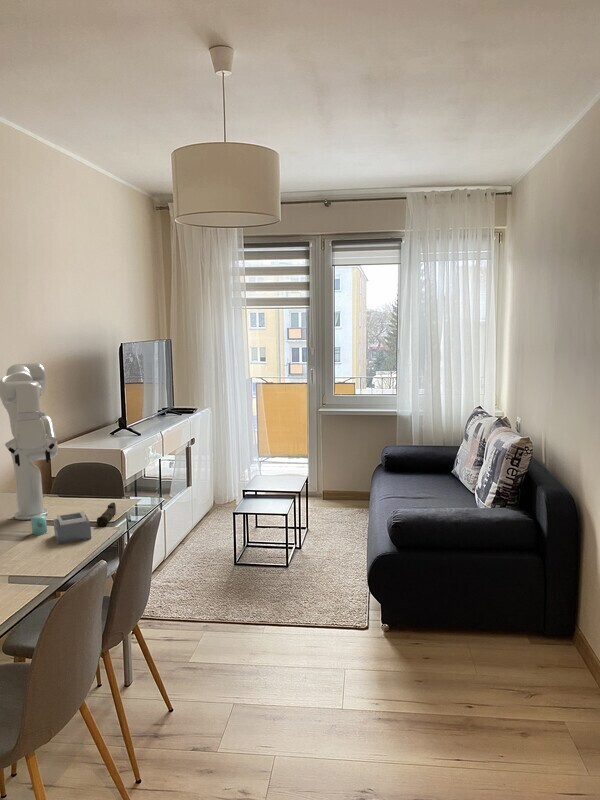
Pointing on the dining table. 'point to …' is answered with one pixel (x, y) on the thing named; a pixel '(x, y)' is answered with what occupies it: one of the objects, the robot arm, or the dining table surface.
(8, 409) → the robot arm
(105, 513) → the hand tool
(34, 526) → the teal toy block
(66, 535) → the grey plastic box
